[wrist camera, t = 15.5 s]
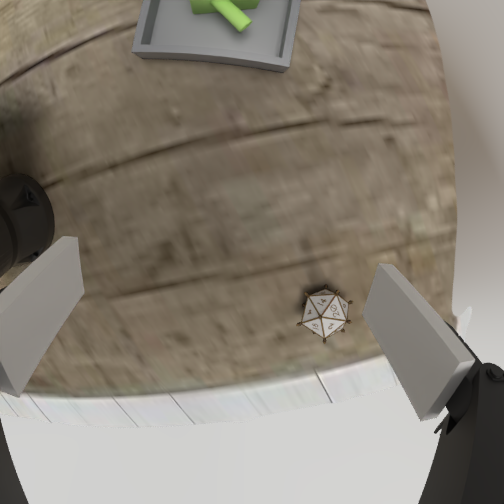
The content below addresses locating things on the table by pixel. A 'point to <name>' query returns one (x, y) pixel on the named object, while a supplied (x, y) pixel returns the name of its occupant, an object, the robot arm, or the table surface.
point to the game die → (325, 313)
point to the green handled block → (226, 10)
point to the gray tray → (217, 34)
